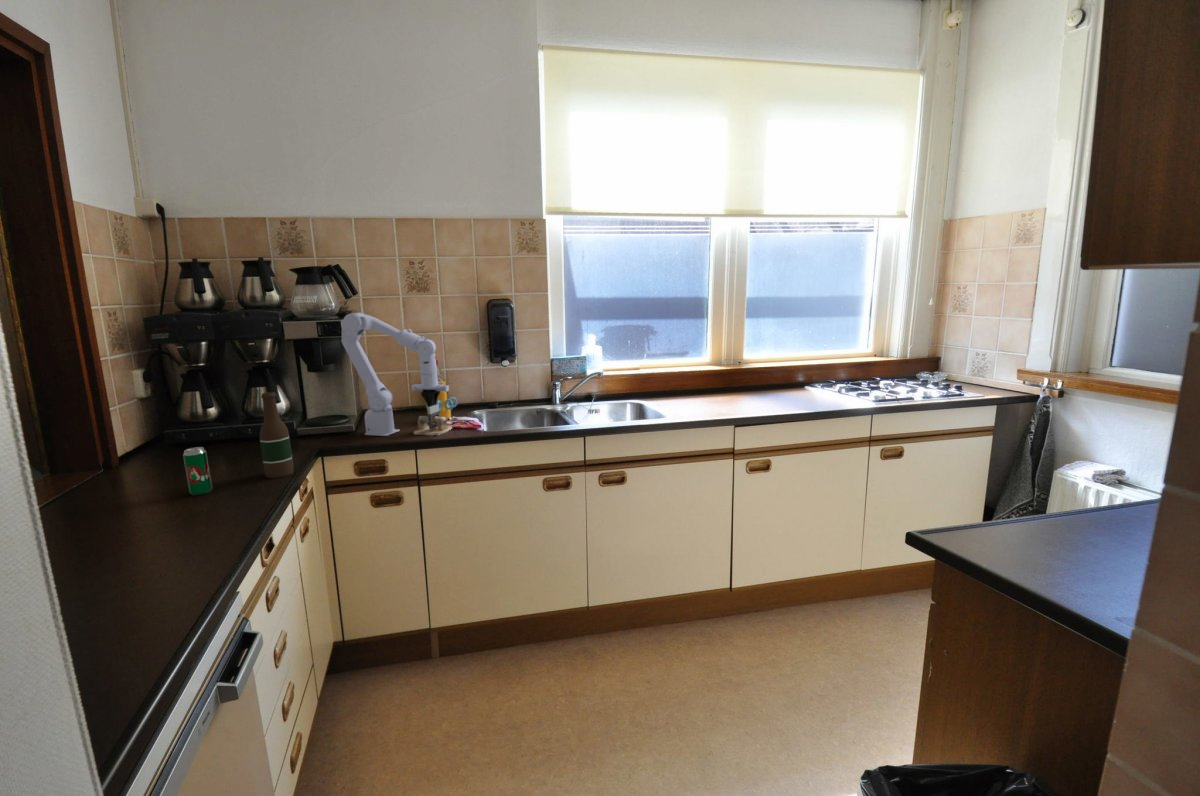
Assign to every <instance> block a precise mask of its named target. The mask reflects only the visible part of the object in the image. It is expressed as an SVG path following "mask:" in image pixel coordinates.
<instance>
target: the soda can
mask: <svg viewBox="0 0 1200 796" xmlns="http://www.w3.org/2000/svg"><path fill="white" fill-rule="evenodd" d="M182 457H183V462H184V468H185V473H186V479H187V485H188V490H189V494H190V495H192V496H202V495H206V494H209V493H210V492H212V490H213V483H212V477H211V472H210V467H209V466H210V465H209V460H208V453H207V451H206V449H205V448H204V447H203V446H197V447H190V448H187V449H185V450H184V451H183V454H182Z"/></svg>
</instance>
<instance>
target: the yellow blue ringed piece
mask: <svg viewBox="0 0 1200 796" xmlns="http://www.w3.org/2000/svg"><path fill="white" fill-rule="evenodd" d="M446 383H447V382H446V381H438V384H440V385H447V384H446ZM452 400H454V401H455V402H454V403H453V401H452ZM436 405H439V412H440V417H445V418H450V417H451V418H452V410H453V409H454V408H456V407H457V405H458V400H457V398H456V397H455V396H451V397H449V398H448V394H447V391H446V392H445V391H440V394H439V396H438V398H437V402H436ZM426 409H428V406H427V405H426Z"/></svg>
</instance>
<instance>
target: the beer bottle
mask: <svg viewBox="0 0 1200 796" xmlns="http://www.w3.org/2000/svg"><path fill="white" fill-rule="evenodd" d="M260 398H261V399H262V407H263V408H262V409H263V422H262V425H261V427H260V429H259V444H260V450H261V451H260V452H261V456H262V464H263V470H264V474H265V475H264V476H265V477H266V478H267V477H268V478H269V479H278V478H279V479H280V478H285V477H287V476H290V475H293V474H294V461H293V454H292V453H293V452H292V448H291V447H292V446H291V442H290V441H291V439H290V434H289V429H288V427H287V425H286V423H285V422H284V421H282V419H281V417H280V415H279V411H278V405H277V401H276V392H274V391H268V392H263V393H261V397H260Z"/></svg>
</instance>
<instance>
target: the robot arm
mask: <svg viewBox="0 0 1200 796" xmlns="http://www.w3.org/2000/svg"><path fill="white" fill-rule="evenodd" d="M340 325H341V326H340V327H341V344H342V345H343V348H344V349H345V351H346V353H347V356H348V357H349V359H350V361H351V362H352V364H353V366H354V368H355V370H356V372H357V373H358V375H359V377H360V380H361V381H362V383H363V385H364V387H365V395H366V396H367V399H368V400H367V401H368V402H367V403H368V406H369V407H370V408H369V409H367V410H366V411H365V413H364V425H365V433H364V435H365V436H379V437H380V436H381V437H388V436H390V435H392V434H395V433H397V432H401V430H400V429H396V428H395V422H394V413H393V406H392V405H391V404H392V402H393V399H394V398H393V397H394V396H393V394H392V392H391V391H390V390H389V389H387V387H386V385H384V384H383V382H381V380H379V377H378V375H377V373H376V372H375V370H374V367H373V366H372V363H371V362H370V360H369V358H368V356H367V355H366V353H365V351H364V349H363V347H362V344H361V343H360V339H361V337H362V335H363V333H364V331H370V330H371V331H372V330H375V331H377V332H379V333H381V334H384V335H387V336H389V337H390V338H393V339H395V340H396V342H397V344H398V345H400V346H402V347H405V348H406V349H409V350H411V351H413V352H416V353H417V354H418V357H419V359H418V360H419V361H418V362H419V372H420V382H421V384H420V383H419V384H415V383H414V384H411V391H422V392H421V393H420V395H421V397H422V398H423V399H424V401H425V404H426V407H427V406H428V407H431V406H433V405H436V402H437V398H438V396H439V394H440V391H445V392H446V393H447V392H449V391H450V385H449V384H446V385H440V384H438V382H439V379H438V369H437V360H436V354H435V352H436V349H437V346H436V343H435V342H434V340H431V338H425V336H423V335H421V336H420V335H418V334H417V333H415V332H413V330H412V329H410V328H408V329H405V328H404V329H402V330H400V329H399V328H398V329H397V328H396V327H394V326H392V325H390V324H388V323H386V322H385V321H382V320H381V319H379V318H377V317H374V316H372V315H370V314H366V313H364V312H361V311H358V312H355V313H354V312H353V313H348V314H346V315H345V316H344V317H343V320H342V322H341V323H340Z"/></svg>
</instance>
